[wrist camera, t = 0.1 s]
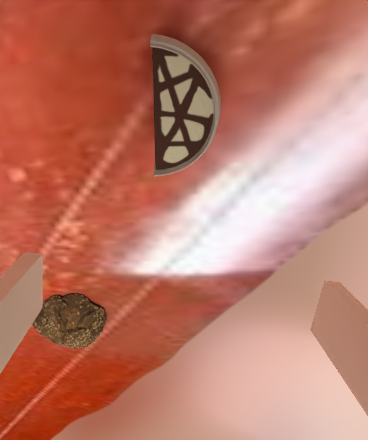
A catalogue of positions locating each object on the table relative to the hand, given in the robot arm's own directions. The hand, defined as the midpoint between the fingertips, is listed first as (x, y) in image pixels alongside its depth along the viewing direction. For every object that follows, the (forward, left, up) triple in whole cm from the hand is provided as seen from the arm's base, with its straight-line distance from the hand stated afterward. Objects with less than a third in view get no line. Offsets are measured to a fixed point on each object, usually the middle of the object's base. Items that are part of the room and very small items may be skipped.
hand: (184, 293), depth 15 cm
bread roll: (+39, +19, -28) cm, 51 cm away
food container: (-1, -1, -28) cm, 28 cm away
